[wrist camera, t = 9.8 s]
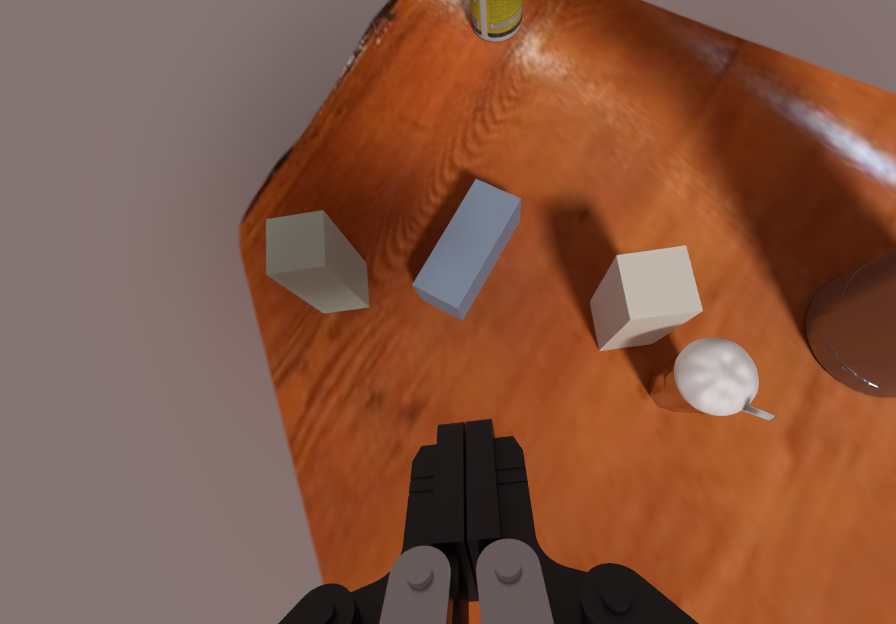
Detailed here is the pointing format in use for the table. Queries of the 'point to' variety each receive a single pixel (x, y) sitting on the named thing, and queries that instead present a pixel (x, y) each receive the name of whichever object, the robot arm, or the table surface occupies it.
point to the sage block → (316, 262)
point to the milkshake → (708, 380)
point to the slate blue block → (468, 249)
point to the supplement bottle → (496, 18)
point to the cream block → (644, 298)
